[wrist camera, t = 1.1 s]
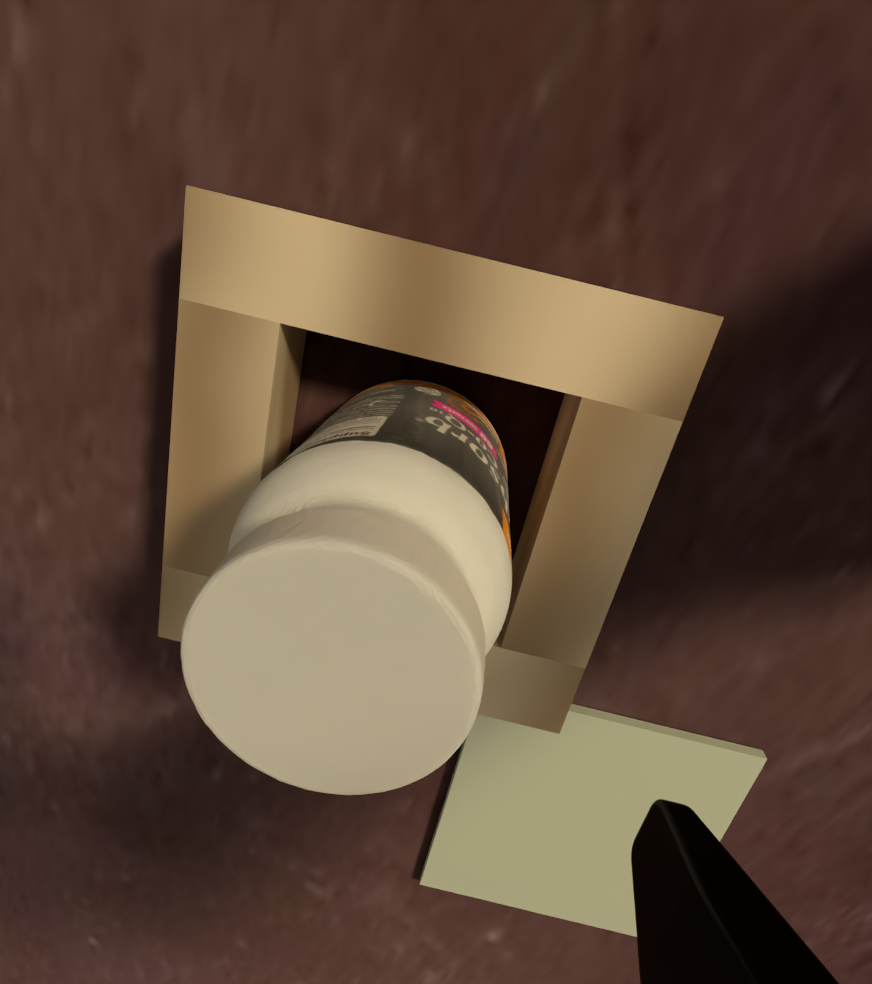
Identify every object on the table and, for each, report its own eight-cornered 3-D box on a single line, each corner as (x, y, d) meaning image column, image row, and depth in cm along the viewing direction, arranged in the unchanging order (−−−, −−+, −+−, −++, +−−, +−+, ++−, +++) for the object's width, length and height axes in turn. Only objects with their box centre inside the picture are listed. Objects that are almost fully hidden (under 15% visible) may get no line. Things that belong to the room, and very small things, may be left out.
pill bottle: (541, 498, 18) (594, 744, 9) (387, 581, 20) (296, 866, 10) (440, 335, 17) (378, 428, 7) (281, 439, 18) (67, 623, 9)
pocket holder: (690, 308, 16) (724, 317, 14) (551, 680, 20) (559, 733, 18) (230, 196, 16) (186, 185, 14) (195, 593, 20) (158, 636, 18)
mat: (762, 750, 21) (767, 759, 20) (658, 932, 24) (661, 942, 24) (482, 682, 21) (482, 689, 20) (420, 874, 24) (419, 884, 24)
